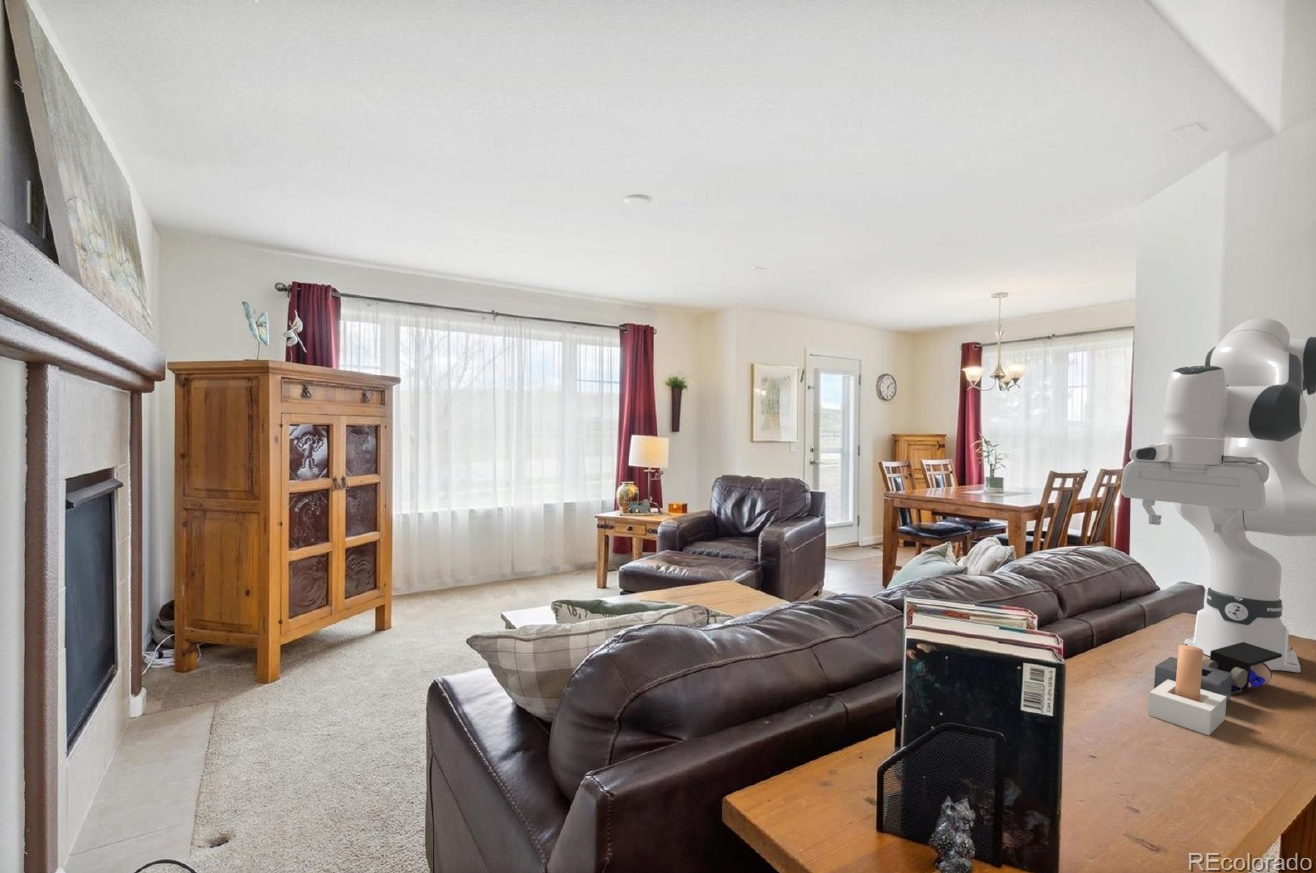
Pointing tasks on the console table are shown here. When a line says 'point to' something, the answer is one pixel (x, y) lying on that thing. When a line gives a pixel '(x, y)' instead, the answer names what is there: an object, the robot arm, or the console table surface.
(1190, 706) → the socket block
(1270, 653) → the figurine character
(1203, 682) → the block
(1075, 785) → the console table surface
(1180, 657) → the pin
